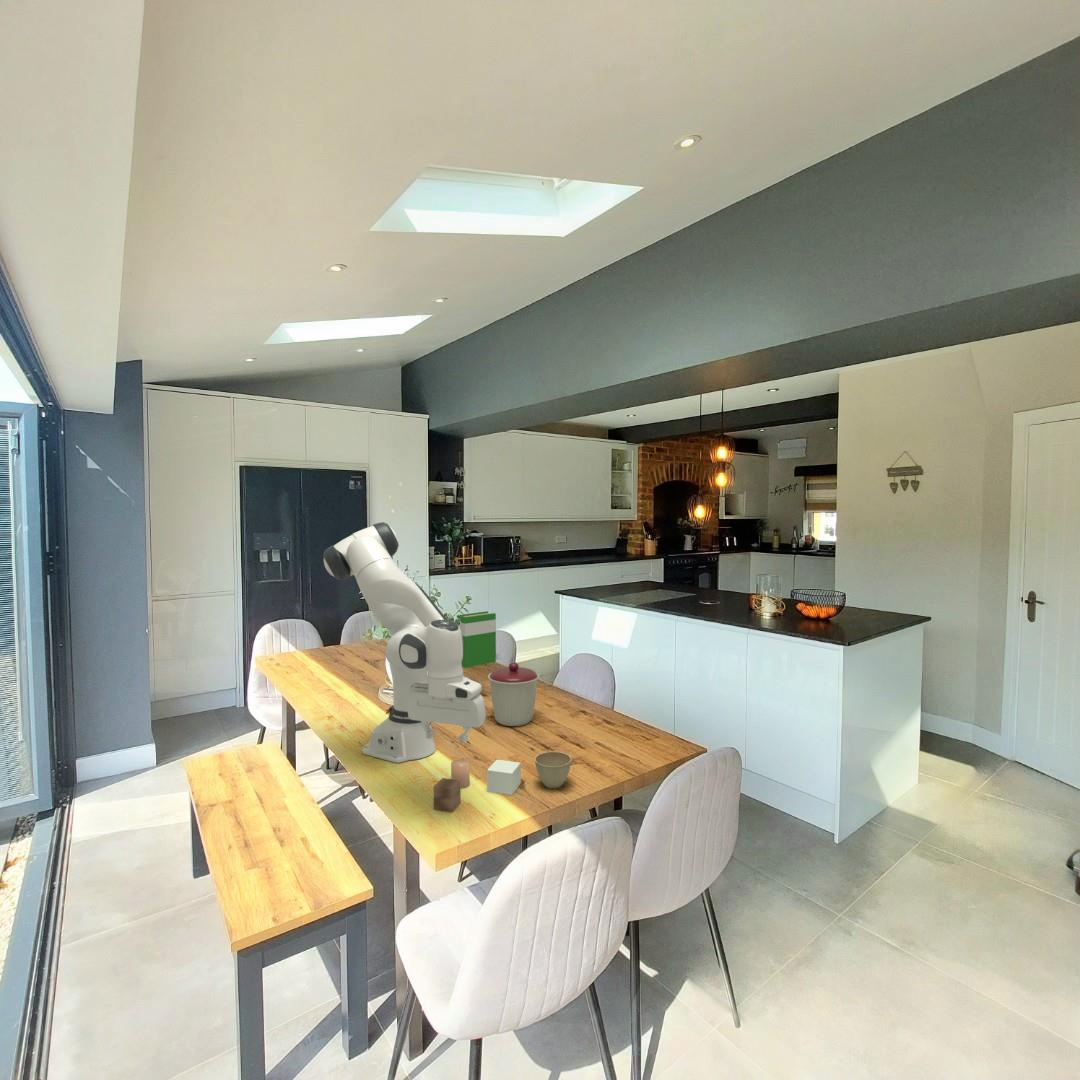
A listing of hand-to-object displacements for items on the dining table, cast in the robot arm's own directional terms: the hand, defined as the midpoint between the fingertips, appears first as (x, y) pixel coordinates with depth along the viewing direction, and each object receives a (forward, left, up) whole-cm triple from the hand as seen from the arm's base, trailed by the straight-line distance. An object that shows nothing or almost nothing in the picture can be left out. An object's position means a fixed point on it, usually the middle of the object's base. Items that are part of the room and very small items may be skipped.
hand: (446, 739), depth 151 cm
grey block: (+10, +14, -17) cm, 24 cm away
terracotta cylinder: (-2, +12, -17) cm, 21 cm away
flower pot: (+22, +20, -17) cm, 35 cm away
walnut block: (0, 0, -17) cm, 17 cm away
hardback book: (-50, +131, -17) cm, 142 cm away
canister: (-5, +62, -17) cm, 65 cm away
